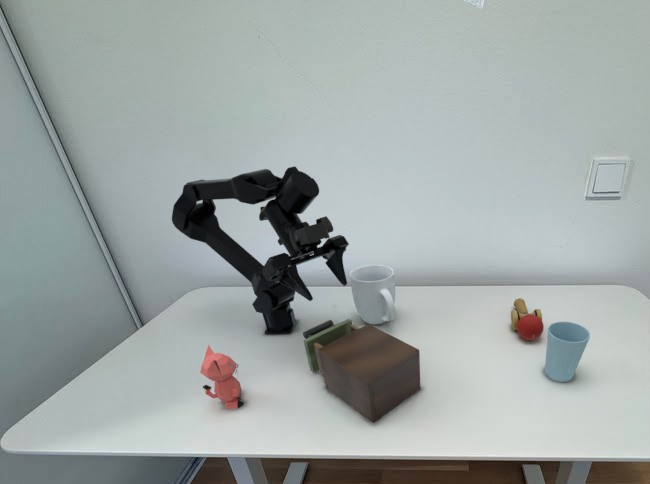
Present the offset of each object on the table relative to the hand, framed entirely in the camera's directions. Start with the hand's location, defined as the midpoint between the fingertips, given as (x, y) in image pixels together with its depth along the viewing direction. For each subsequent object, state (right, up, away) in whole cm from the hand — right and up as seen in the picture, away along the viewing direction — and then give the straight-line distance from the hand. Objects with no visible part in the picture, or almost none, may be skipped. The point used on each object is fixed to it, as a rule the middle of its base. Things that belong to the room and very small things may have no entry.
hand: (329, 292), depth 78 cm
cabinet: (+9, -20, -3) cm, 22 cm away
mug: (+8, -5, +20) cm, 22 cm away
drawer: (+3, -16, +2) cm, 16 cm away
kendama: (+45, -6, +16) cm, 49 cm away
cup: (+48, -17, -1) cm, 51 cm away
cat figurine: (-18, -22, -5) cm, 29 cm away
